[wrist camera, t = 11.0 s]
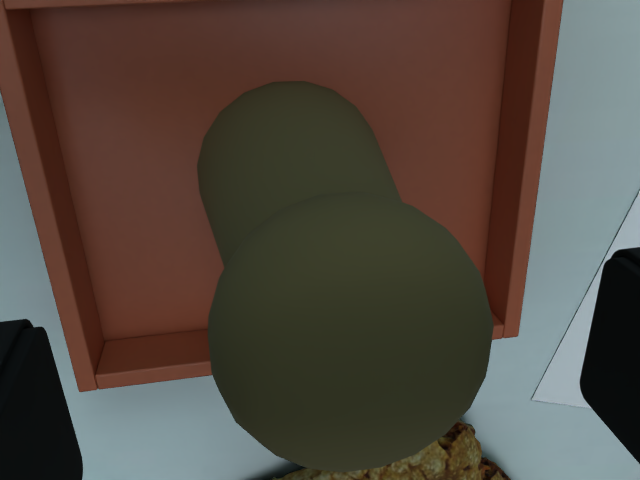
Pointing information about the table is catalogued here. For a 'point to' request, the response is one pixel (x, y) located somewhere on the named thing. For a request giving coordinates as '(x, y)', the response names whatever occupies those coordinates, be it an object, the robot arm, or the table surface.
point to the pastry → (425, 463)
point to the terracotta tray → (217, 93)
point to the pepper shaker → (332, 288)
